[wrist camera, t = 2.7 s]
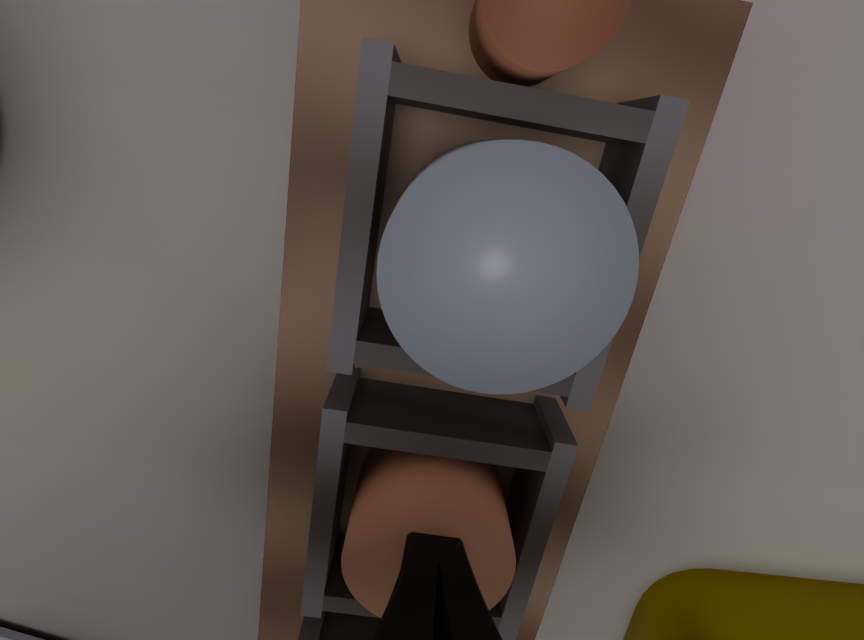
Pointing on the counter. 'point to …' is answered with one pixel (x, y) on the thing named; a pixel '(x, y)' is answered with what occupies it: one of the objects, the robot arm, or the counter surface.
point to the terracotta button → (425, 521)
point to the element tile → (747, 608)
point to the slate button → (507, 265)
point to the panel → (364, 226)
